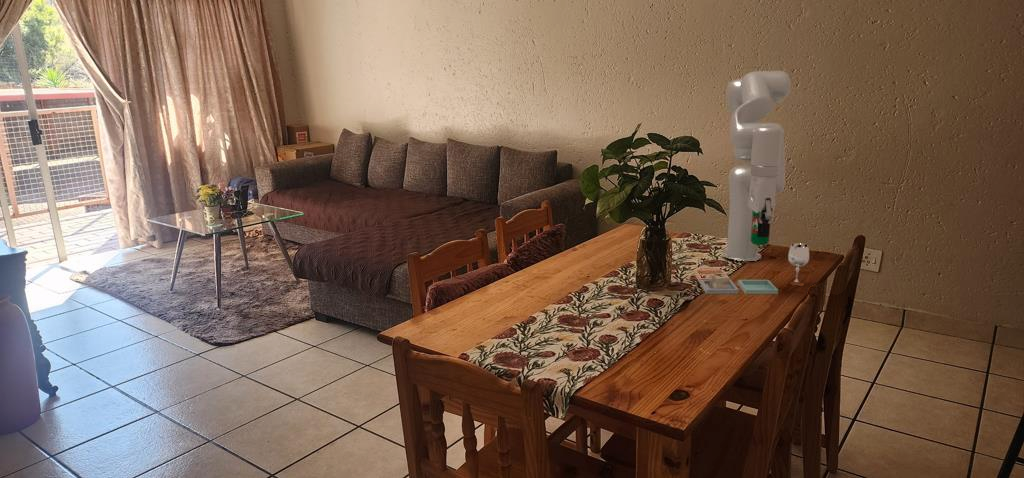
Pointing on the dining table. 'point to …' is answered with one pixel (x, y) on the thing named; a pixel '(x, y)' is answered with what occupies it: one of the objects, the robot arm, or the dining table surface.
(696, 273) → the tray terracotta
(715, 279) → the letter cube
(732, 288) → the tray slate
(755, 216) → the soda can
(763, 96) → the robot arm
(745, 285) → the tray teal
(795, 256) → the wineglass
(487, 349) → the dining table surface
